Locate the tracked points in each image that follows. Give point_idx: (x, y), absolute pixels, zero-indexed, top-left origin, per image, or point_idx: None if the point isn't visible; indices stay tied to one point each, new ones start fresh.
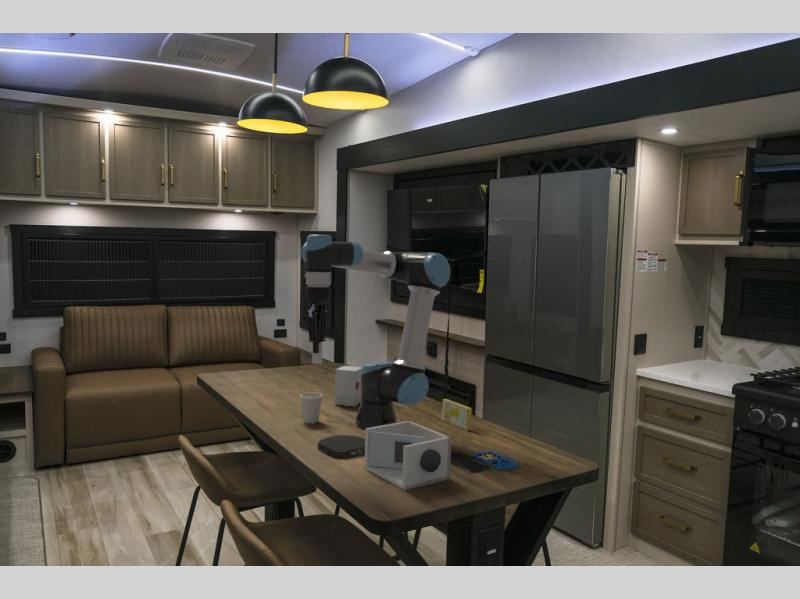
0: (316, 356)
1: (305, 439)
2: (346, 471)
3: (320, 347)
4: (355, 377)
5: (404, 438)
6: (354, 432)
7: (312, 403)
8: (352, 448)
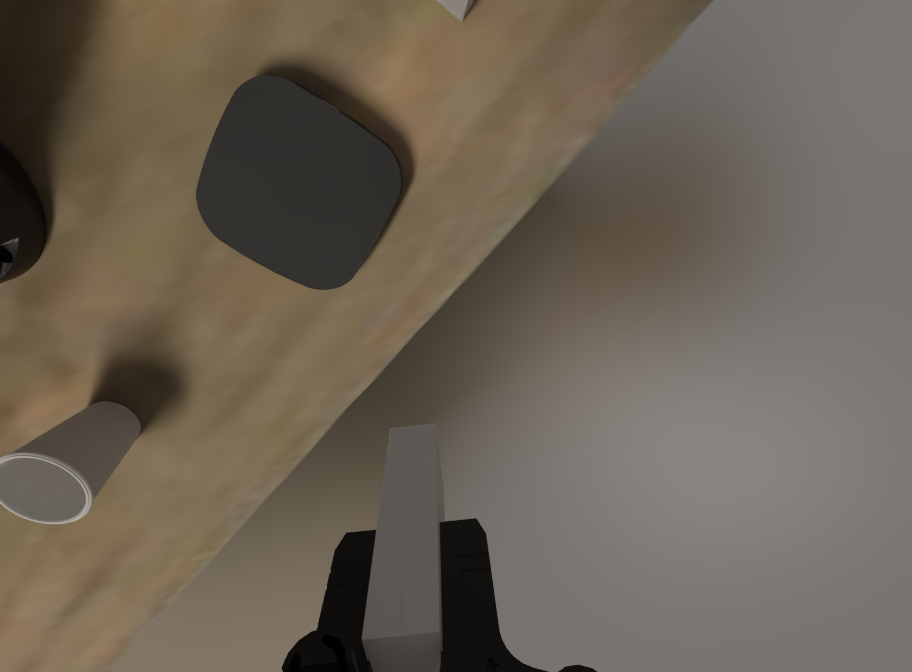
0: (441, 505)
1: (288, 353)
2: (514, 80)
3: (437, 564)
4: None
5: None
6: (110, 238)
7: (85, 454)
8: (351, 131)
